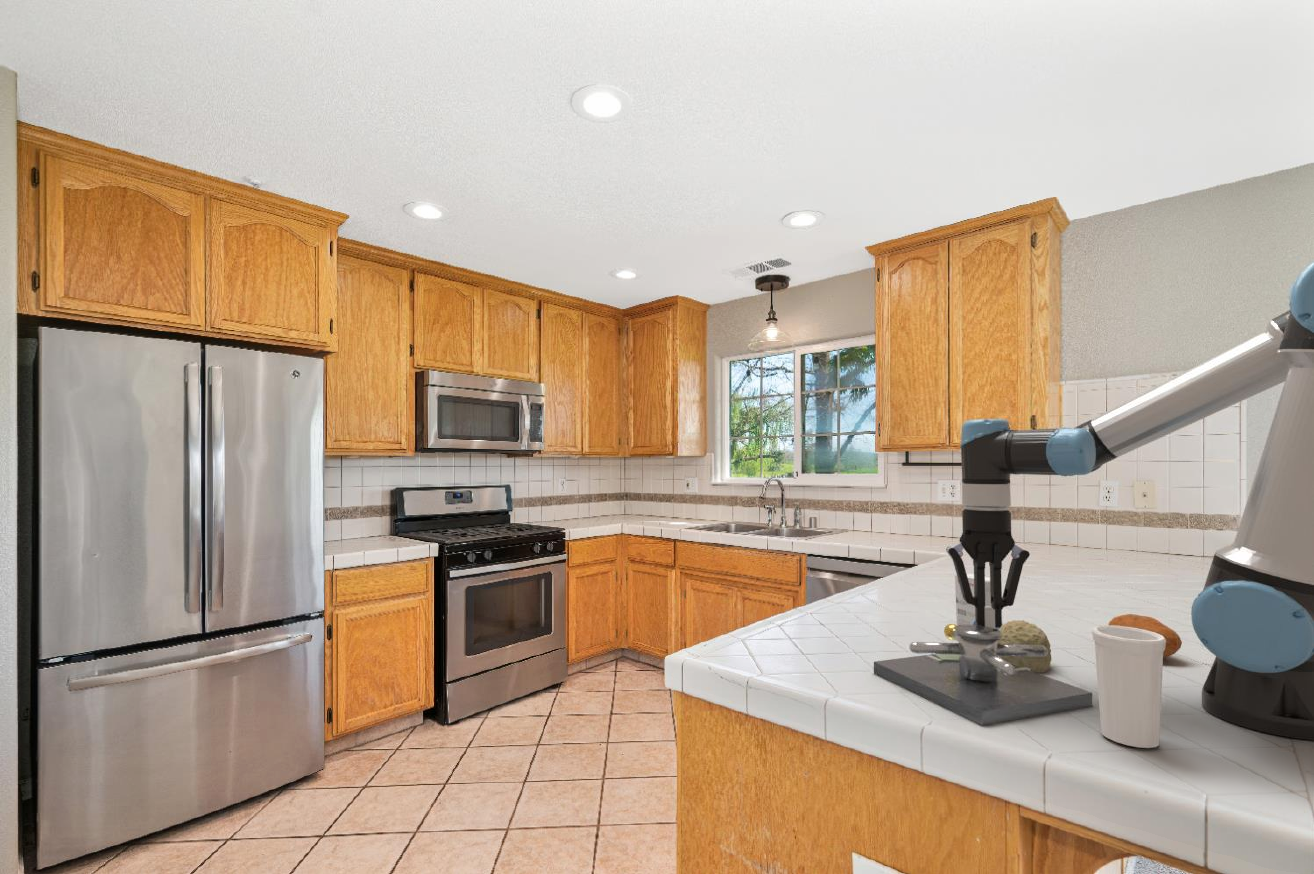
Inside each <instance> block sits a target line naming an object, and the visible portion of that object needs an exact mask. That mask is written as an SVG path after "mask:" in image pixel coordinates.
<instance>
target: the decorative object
mask: <svg viewBox="0 0 1314 874" xmlns="http://www.w3.org/2000/svg"><path fill="white" fill-rule="evenodd" d="M999 631H1001V639H1000V640H997V644H1020V645H1043V646H1045V647H1046V648H1047V650H1048V653H1047V655H1046V656H1044V657H1035V656H999V657H1001V658H1002V659H1004V660H1005V661H1007V662H1008V663H1010V664H1013V665H1016V666H1019V667H1021V668H1024V667H1026V668H1029V669H1030V671H1033V672H1035V673H1038V674H1040V673H1045V672H1047V671H1049V669H1050V667H1051V666H1050V665H1051V662H1052V654H1051V653H1052V649H1051V644H1050V641H1049V639H1048V636H1047V635H1046V633H1045V632H1044V631H1043V630H1042V629H1041V628H1040V627H1038V626H1037V625H1036V624H1035V623H1030V622H1028V621H1025V620H1012V621H1007V622H1006V623H1002V626H1001V628H999Z"/></svg>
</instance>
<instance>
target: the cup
mask: <svg viewBox="0 0 1314 874" xmlns="http://www.w3.org/2000/svg"><path fill="white" fill-rule="evenodd" d="M1091 634H1092V639H1093V641H1094V653H1095V665H1096V678H1097V679H1096V681H1097V695H1098V707H1099V709H1098V710H1099V720H1100V721H1099V722H1100V732H1101V734H1102V735H1103V736H1104V737H1106V738H1107V739H1109V740H1111V741H1113V742H1116V743H1119V744H1122V745H1126V746H1130V747H1135V748H1143V749H1151V748H1157V747H1158V746H1159V745H1160V733H1161V732H1160V731H1161V711H1162V710H1161V708H1162V690H1163V689H1162V687H1163V684H1162V683H1163V668H1164V667H1163V666H1164V664H1163V663H1164V658H1163V652H1164V650H1165V646H1166V640H1165V638H1164V637H1163V636H1162V635H1160V634H1157V633H1155V632H1151V631H1147V630H1143V629H1138V628H1132V627H1125V626H1113V625H1109V624H1107V625H1106V624H1105V625H1104V624H1103V625H1096V626H1093V627H1092V628H1091Z"/></svg>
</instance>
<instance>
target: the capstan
mask: <svg viewBox="0 0 1314 874" xmlns="http://www.w3.org/2000/svg"><path fill="white" fill-rule="evenodd" d="M943 633H944V635H945V637H946V638H947V639H948V640H951V641H956V642H935V641H934V642H931V641H925V642H924V641H912V642H910V644H909V647H908V648H909V650H910V652H912V653H913V654H918V655H919V654H921V655H924V654H925V655H930V654H956V655H959V674H960V675H962V676H963V677H966V678H969V679H972V680H978V681H995V680H997V679H998V670H999V671H1000V672H1001V673H1003V674H1004V675H1006V676H1012V675H1014V673H1015V668H1014V667H1013V665H1011V664H1010V663H1008V662H1007V661H1005V660H1004V659H1002V658H1001V657H999V656H1035V657H1044V656H1046V655H1047V653H1048V650H1047V648H1046V647H1045V646H1043V645H1020V644H997V640H1000V639H1001V631H999V630H997V629H994V628H991V627H986V626H980V625H958V626H957V624H953V623H949V624H947V625H946V626H944V629H943Z"/></svg>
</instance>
